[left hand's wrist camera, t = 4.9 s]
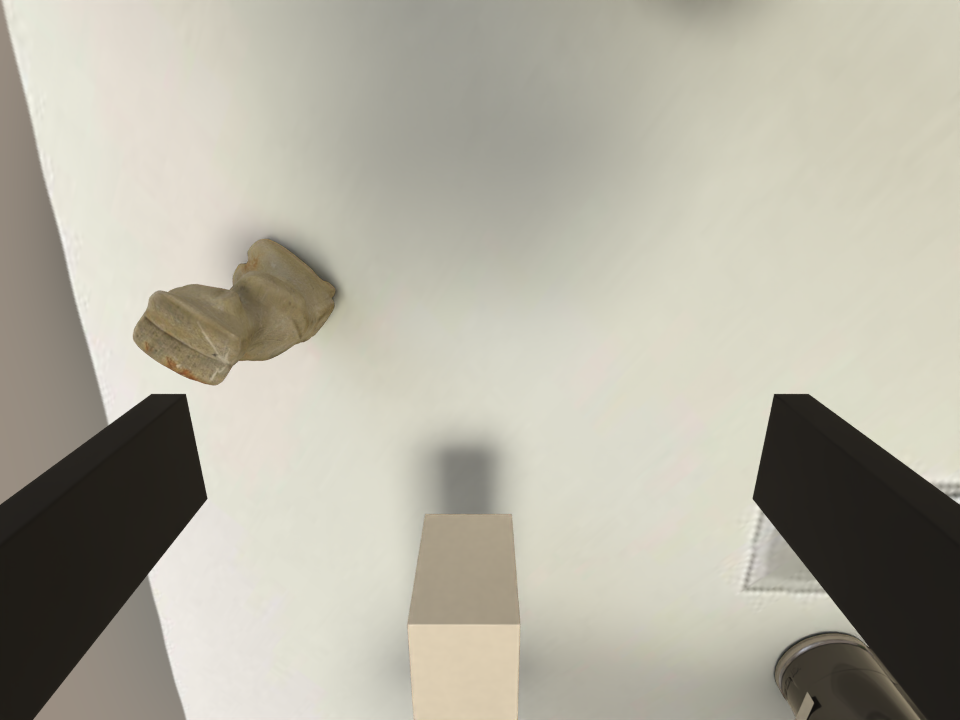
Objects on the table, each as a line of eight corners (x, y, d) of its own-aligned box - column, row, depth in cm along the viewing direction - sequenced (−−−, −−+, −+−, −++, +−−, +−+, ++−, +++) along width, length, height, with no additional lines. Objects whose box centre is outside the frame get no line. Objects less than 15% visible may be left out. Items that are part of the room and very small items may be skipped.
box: (424, 513, 37) (406, 624, 28) (511, 513, 37) (520, 624, 28) (437, 777, 46) (427, 920, 38) (506, 777, 46) (511, 921, 38)
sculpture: (274, 220, 40) (159, 259, 26) (356, 284, 41) (291, 353, 27) (231, 282, 41) (103, 350, 27) (312, 340, 43) (229, 433, 29)
